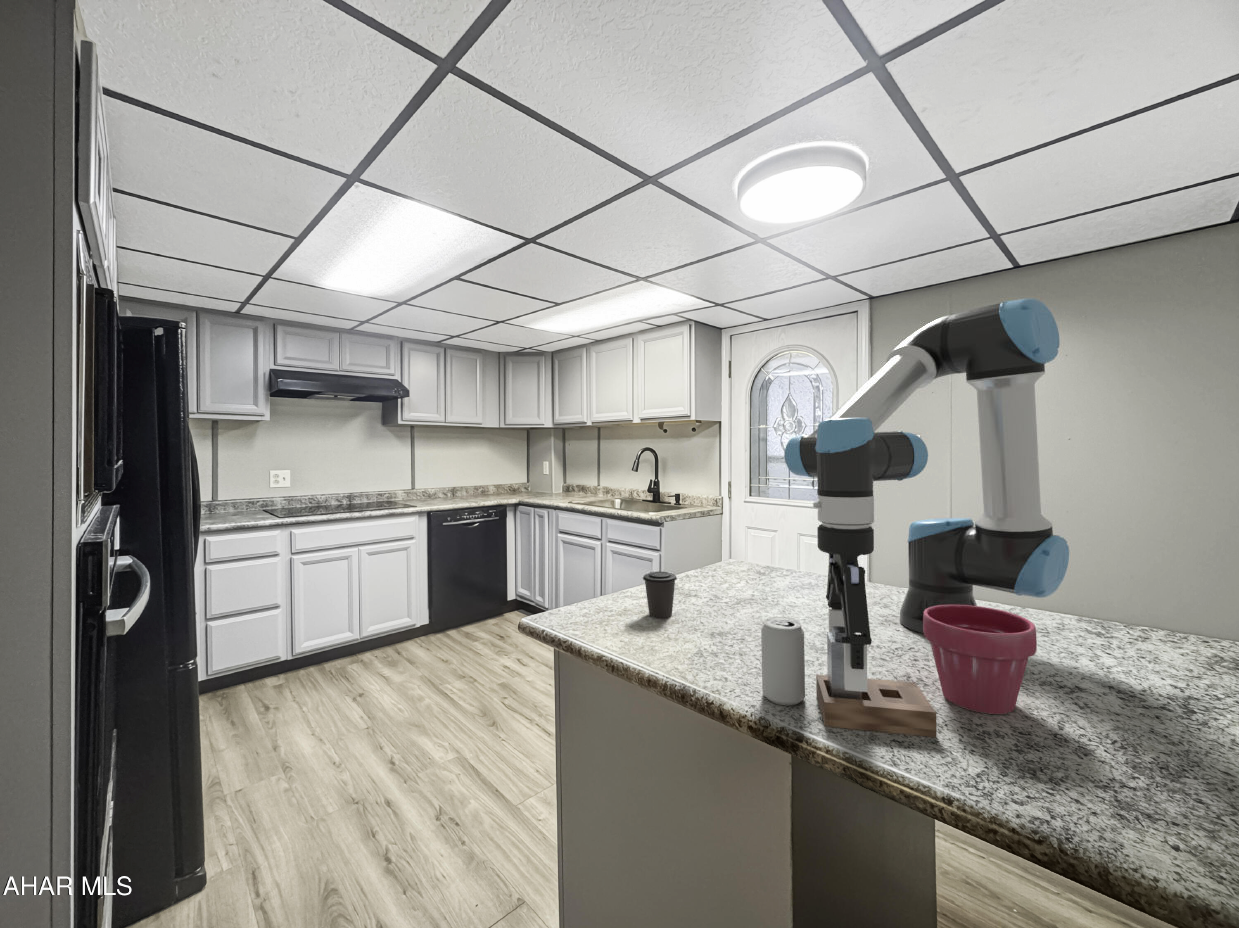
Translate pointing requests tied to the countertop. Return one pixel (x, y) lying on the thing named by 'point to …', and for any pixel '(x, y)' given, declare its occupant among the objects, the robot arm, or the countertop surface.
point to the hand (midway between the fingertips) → (846, 668)
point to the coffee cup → (660, 593)
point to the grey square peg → (837, 666)
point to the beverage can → (783, 661)
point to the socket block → (879, 708)
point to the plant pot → (979, 654)
